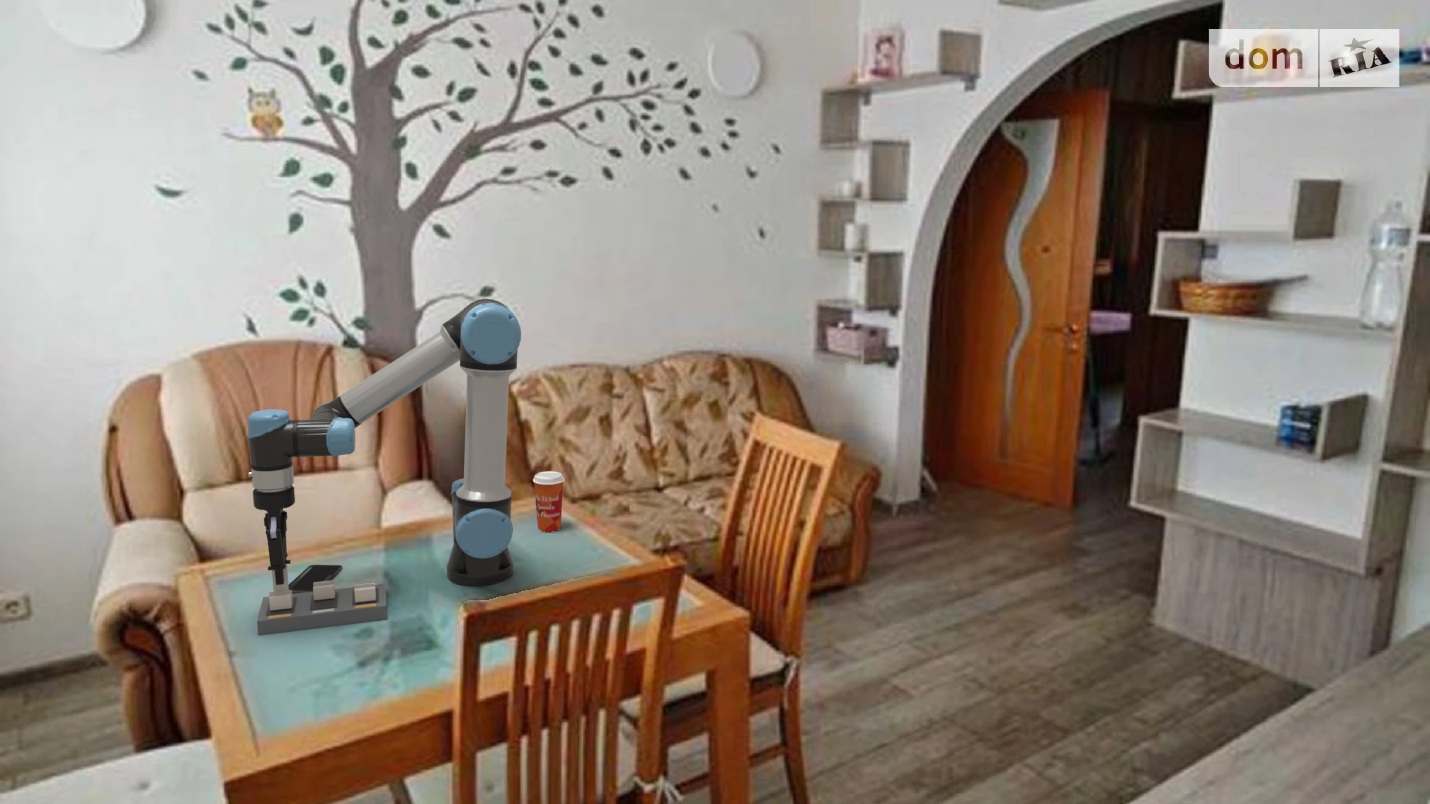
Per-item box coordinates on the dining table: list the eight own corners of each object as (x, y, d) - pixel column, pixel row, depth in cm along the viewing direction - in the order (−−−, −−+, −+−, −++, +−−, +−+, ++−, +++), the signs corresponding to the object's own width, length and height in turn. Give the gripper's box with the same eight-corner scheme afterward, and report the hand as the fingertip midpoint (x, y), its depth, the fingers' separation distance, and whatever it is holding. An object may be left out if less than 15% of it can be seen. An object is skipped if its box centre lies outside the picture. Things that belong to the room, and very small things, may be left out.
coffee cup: (529, 532, 240) (528, 478, 237) (540, 522, 248) (539, 469, 245) (559, 535, 239) (558, 480, 236) (569, 524, 247) (569, 471, 244)
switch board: (385, 596, 199) (385, 583, 198) (387, 619, 188) (386, 605, 187) (264, 610, 190) (263, 596, 190) (258, 635, 179) (256, 620, 179)
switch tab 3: (375, 594, 192) (374, 580, 191) (375, 600, 189) (375, 585, 188) (355, 596, 190) (354, 582, 190) (355, 602, 188) (354, 588, 187)
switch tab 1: (292, 602, 187) (291, 587, 186) (291, 608, 184) (290, 593, 184) (271, 604, 186) (270, 590, 185) (269, 610, 183) (268, 595, 182)
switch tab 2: (335, 592, 192) (334, 578, 192) (334, 597, 190) (333, 583, 189) (314, 594, 191) (313, 580, 190) (313, 600, 188) (312, 585, 187)
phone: (282, 590, 199) (310, 564, 213) (282, 595, 199) (310, 569, 214) (318, 591, 199) (344, 565, 214) (318, 595, 199) (344, 569, 214)
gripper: (256, 479, 187) (264, 586, 191) (248, 498, 175) (257, 612, 179) (296, 476, 189) (303, 582, 194) (291, 494, 177) (299, 607, 182)
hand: (281, 596), depth 187 cm, fingers closed
